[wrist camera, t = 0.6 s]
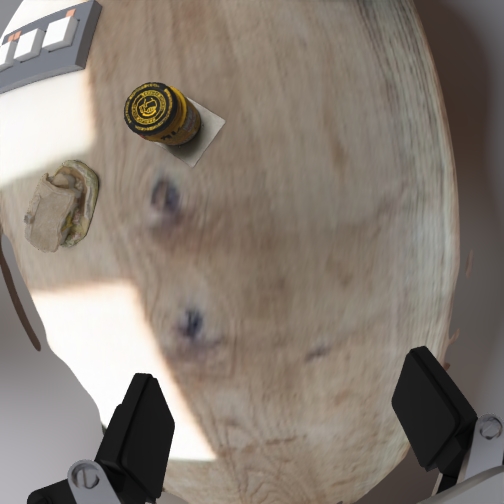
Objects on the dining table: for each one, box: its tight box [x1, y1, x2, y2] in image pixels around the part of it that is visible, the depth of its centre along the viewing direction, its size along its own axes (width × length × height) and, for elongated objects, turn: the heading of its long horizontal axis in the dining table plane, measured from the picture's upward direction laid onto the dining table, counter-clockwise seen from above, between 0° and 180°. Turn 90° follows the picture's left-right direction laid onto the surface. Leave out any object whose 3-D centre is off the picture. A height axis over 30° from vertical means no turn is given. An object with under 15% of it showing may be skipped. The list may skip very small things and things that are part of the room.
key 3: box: [42, 16, 79, 52], centre depth 23 cm, size 4×4×4 cm
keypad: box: [0, 0, 102, 94], centre depth 25 cm, size 12×22×3 cm, turn 84°
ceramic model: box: [24, 160, 98, 252], centre depth 31 cm, size 14×11×10 cm
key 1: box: [0, 41, 18, 72], centre depth 23 cm, size 4×4×4 cm
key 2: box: [14, 28, 46, 62], centre depth 23 cm, size 4×4×4 cm
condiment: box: [124, 82, 226, 167], centre depth 27 cm, size 7×8×12 cm
